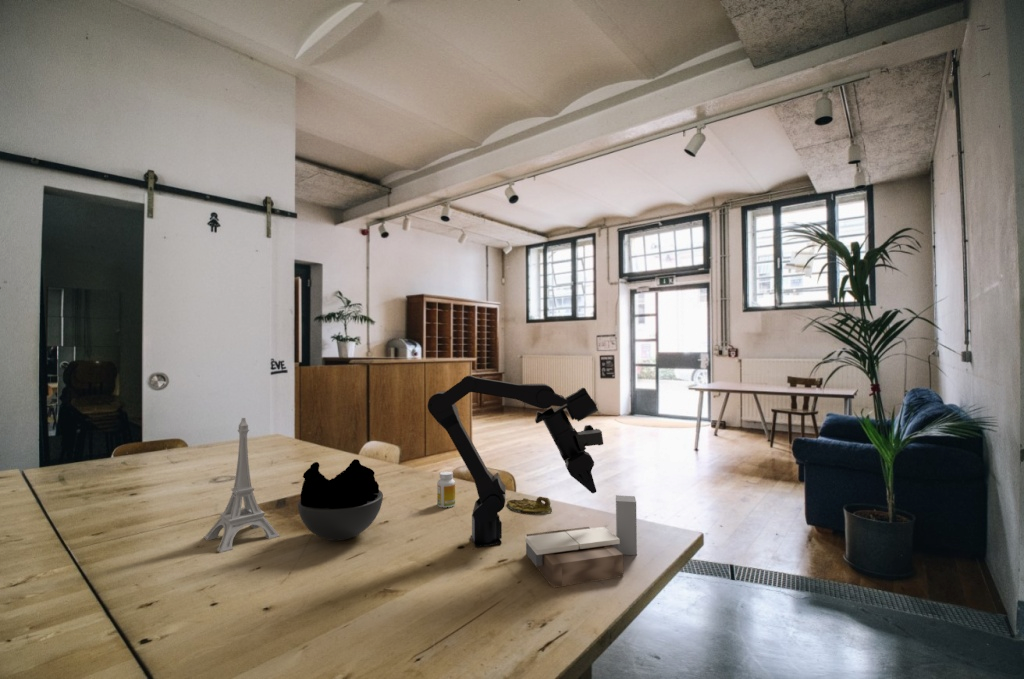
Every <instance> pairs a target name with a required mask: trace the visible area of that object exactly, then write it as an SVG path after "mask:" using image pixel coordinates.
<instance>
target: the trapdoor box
mask: <svg viewBox="0 0 1024 679" xmlns="http://www.w3.org/2000/svg"><path fill="white" fill-rule="evenodd" d="M590 528H591V527H589V526H586V527H585V526H583V527H576V528H568V529H567V528H566V529H559V530H551V531H542V532H534V533H527V534H526V536H533V535H542V534H550V533H558V532H566V531H574V530H582V529H590ZM542 562H543V565H542V566H535V567H536V568H537V569H538V571H539V572H540V573H541V575H542V576H543V577H544V579H545V580H546V581H547V582H548V584H549V585H550V586H551V587H552V588H558V587H564V586H571V585H576V584H577V585H578V584H583V583H591V582H597V581H602V580H604V581H605V580H609V579H616V578H621V577H624V554H622V553H621V552H619V551H618V550H617V549H616V548H614V547H613V546H612V545H606V546H599V547H592V548H584V549H577V550H570V551H562V552H555V553H548V554H542Z"/></svg>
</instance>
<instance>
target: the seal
mask: <svg viewBox="0 0 1024 679" xmlns="http://www.w3.org/2000/svg"><path fill="white" fill-rule="evenodd" d="M506 503H507V504H506V505H507V507H509V508H510V510H511V509H512V510H514V511H513V512H515V511H517V512H516V513H519V512H521V513H520V514H526V513H527V514H528V515H546V514H545V513H548V514H552V513H553V509H552V506H551V501H550V498H548V497H543V496H538V497H537V499H536V500H531V499H528V498H523V499H509V500H507V502H506ZM509 508H508V509H509ZM512 510H511V511H512ZM551 512H552V513H551Z"/></svg>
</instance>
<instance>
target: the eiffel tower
mask: <svg viewBox="0 0 1024 679" xmlns="http://www.w3.org/2000/svg"><path fill="white" fill-rule="evenodd" d="M249 431H250V429H249V425H248V423H247V420H246V417H241V420H240V422H239V424H238V429H237V432H238V433H239V436H238V437H239V440H238V441H239V442H238V453H237V455H238V456H237V464H236V471H235V477H234V484H233V487H231V488H230V490H231V492H232V493H231V495H230V497H229V500H228V502H227V505H226V507H225V509H224V511H223V512H219V516H220V517H219V519H217V521H216V522H215V523H214V524H213V525H212V527H211V528H210V529H209V531H208V532H207V533H206V534H205V536H203V538H204V539H205V540H206V541H209V540H210V541H211V540H215V539H218V538H220V535H219V534H220V532H221V531H222V529H223V533H222V536H221V541H220V543H219V545H218V547H217V548H216V551H217V552H219V554H221V553H225V552H229V551H233V550H234V548H233V542H234V538H235V536H236V535H237V533H238V532H239V531H241V529H243V528H244V527H247V526H250V527H251V528H252V529H257V528H262V529H263V531H264V533H265V535H264V538H266V539H268V540H272V539H276V538H280V537H281V535H280V534H279V533H278V532H277V530H276V529H275V528H274V527H273V526H272V524H271V523H270V522H269V520H268V519H267V518H266V517H265V514H266V512H265V511H263V510H262V509H261V508H260V506H259V505H258V503H257V499H256V497H255V495H254V491H255V488H254V487H253V486H252V482H251V480H252V479H251V474H250V466H249V454H248V433H249ZM242 504H243V505H244V507H242V506H243V505H242Z"/></svg>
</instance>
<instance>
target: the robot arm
mask: <svg viewBox="0 0 1024 679" xmlns="http://www.w3.org/2000/svg"><path fill="white" fill-rule="evenodd" d="M470 393H477V394H483V395H488V396H493V397H494V396H495V397H500V398H505V399H513V400H518V401H520V402H522V403H525V404H527V405H530V406H532V407H535V408H539V409H542V410H544V411H543V412H541V411H539V410H537V411H536V416H535V418H534V422H535V423H536V424H539V423H541V422H542V421H543V423H544V425H545V427H546V429H547V430H548V433H549V434H550V436H551V438H552V439H553V442H554V444H555V446H556V448H557V450H558V452H559V455H560V457H561V459H562V460H563V461H564V464H565V468H566V469H567V471H568V474H569V475H570V476H571V477H572V478H573V479H575V480H576V481H577V483H580V484H581V485H582V486H583V487H584V488H585V489H586V490H588V491H589V493H591V494H595V493H597V488H596V485H595V482H594V481H595V480H594V477H593V474H592V469H593V468H594V466H595V461H594V459H593V457H592V455H591V454H590V453H589V452H587V451H586V450H587V448H586V447H591V446H604V439H603V438H604V437H603V431H602V430H601V429H600V428H595V429H594V427H593V426H592V425H591V424H588V425H587V424H586V425H584V428H583V430H581V431H577V430H576V429H575V427H574V426H573V425H572V423H571V421H570V419H571V420H572V421H573V420H575V421H577V422H580V421H583V420H584V419H586V418H588V417H590V416H592V415H593V414H594V415H595V413H597V412H599V409H598V407H597V404H596V403H595V401H594V399H593V398H592V396H591V395H590V394H589V393H588V391H587V389H586V388H585V387H581V388H578V390H577V391H575V392H574V393H571V394H569V395H568V396H566V397H564V395H563V394H558V393H556V392H555V390H554V389H553V388H552V387H551V386H550V385H549V384H547V383H513V382H508V381H502V380H501V381H500V380H497V379H496V380H495V379H489V378H485V377H476V376H474V375H470V374H468V375H466V376H464V377H463V378H462V379H461V380H460V381H458V383H456V384H454V385H453V386H451V387H450V388H449V389H447V390H445V391H438V392H436V393H435V394H433V395H432V396H430V398H429V399H428V402H427V409H428V412H429V414H430V415H431V416H432V417H433V418H434V420H436V422H437V423H438V425H440V426H441V427H442V428H443V429H444V430H445V431H446V432H447V435H448V436H449V437H450V439H451V442H452V443H453V445H454V447H455V448H456V450H457V452H458V454H459V455H460V457H461V459H462V461H463V463H464V464H465V466H466V468H467V469H468V472H469V473H470V475H471V477H472V479H473V481H474V484H475V487H476V488H475V489H476V492H477V495H478V498H477V500H475V502H474V506H473V510H472V514H471V535H470V536H469V537H470V540H471V542H472V544H473V545H474V547H475V548H480V547H488V546H495V545H502V540H501V539H502V537H503V536H502V534H503V532H502V531H503V529H502V526H503V524H502V521H501V520H500V515H499V514H498V513H500V512H501V511H502V510H503V509H504V508H505V505H506V489H507V488H506V487H507V486H506V484H505V483H504V482H503V481H502V480H501V477H500V474H499V472H496V473H495V474H494V475H493V473H491V471H490V470H488V468H487V466H486V465H485V462H484V461H483V459H482V457H481V455H480V453H479V451H478V450H477V448H476V446H475V445H474V443H473V441H472V439H471V437H470V435H469V434H468V431H467V430H466V429H465V427H464V425H463V423H462V420H461V418H460V414H459V410H458V406H457V404H456V403H457V402H459V401H460V400H462V399H463V398H464V397H465V396H467V395H469V394H470ZM552 406H553V407H557V408H555V409H553V408H552ZM566 411H567V413H566ZM567 414H568V415H567ZM568 416H569V417H570V419H569V418H568Z"/></svg>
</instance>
